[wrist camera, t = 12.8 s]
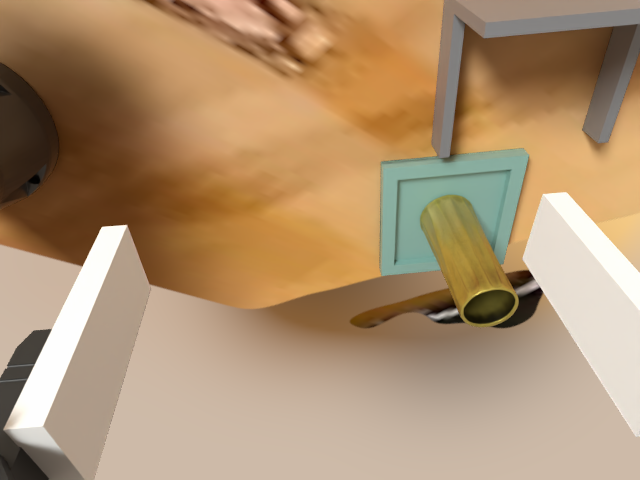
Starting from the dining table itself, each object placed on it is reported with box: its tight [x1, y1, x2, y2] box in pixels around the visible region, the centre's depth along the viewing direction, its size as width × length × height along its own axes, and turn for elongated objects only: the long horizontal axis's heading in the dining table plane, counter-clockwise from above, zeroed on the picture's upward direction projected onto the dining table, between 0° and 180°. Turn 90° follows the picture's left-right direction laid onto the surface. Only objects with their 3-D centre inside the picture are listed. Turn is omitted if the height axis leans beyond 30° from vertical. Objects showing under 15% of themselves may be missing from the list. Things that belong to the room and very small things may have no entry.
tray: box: [380, 148, 529, 276], centre depth 52 cm, size 15×15×2 cm
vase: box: [420, 195, 519, 327], centre depth 47 cm, size 6×6×14 cm
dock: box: [432, 0, 640, 158], centre depth 39 cm, size 17×14×10 cm
